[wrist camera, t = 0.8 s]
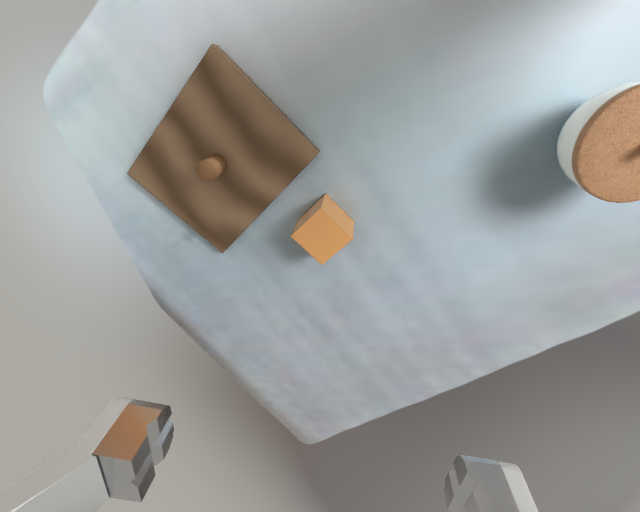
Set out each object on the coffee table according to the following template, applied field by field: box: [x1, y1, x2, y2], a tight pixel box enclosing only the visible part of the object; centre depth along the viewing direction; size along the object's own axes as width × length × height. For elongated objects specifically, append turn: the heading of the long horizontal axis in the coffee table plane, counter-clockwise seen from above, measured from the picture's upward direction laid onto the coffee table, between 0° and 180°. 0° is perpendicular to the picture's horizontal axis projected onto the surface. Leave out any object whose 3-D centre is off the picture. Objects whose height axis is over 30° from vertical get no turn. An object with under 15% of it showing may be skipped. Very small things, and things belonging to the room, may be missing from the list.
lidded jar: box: [557, 82, 640, 203], centre depth 33 cm, size 11×11×9 cm
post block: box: [127, 44, 320, 253], centre depth 41 cm, size 20×16×5 cm
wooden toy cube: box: [291, 194, 354, 265], centre depth 43 cm, size 5×5×6 cm
